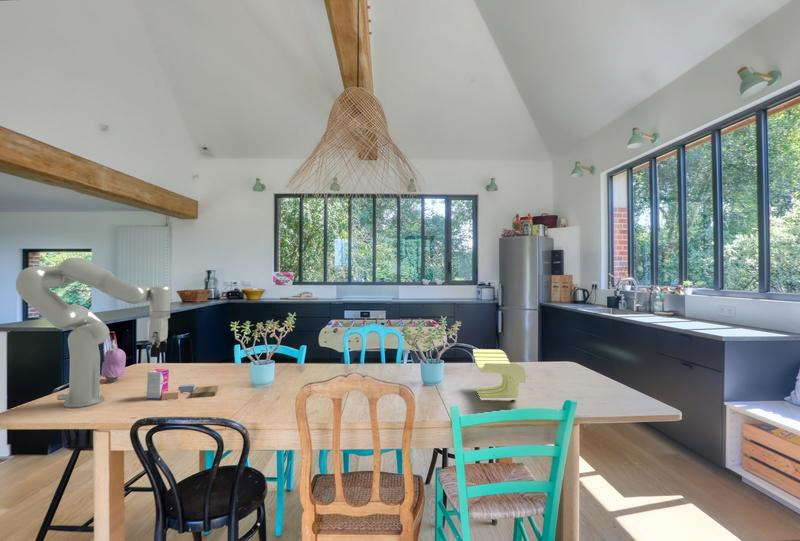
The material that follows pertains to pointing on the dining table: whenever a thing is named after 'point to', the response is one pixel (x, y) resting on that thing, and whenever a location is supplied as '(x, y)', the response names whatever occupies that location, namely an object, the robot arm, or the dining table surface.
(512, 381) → the slatted curved stool
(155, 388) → the supplement box
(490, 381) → the dining table surface
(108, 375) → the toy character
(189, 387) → the slate brick
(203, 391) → the tan flat square block
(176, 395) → the terracotta brick
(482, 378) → the dining table surface
